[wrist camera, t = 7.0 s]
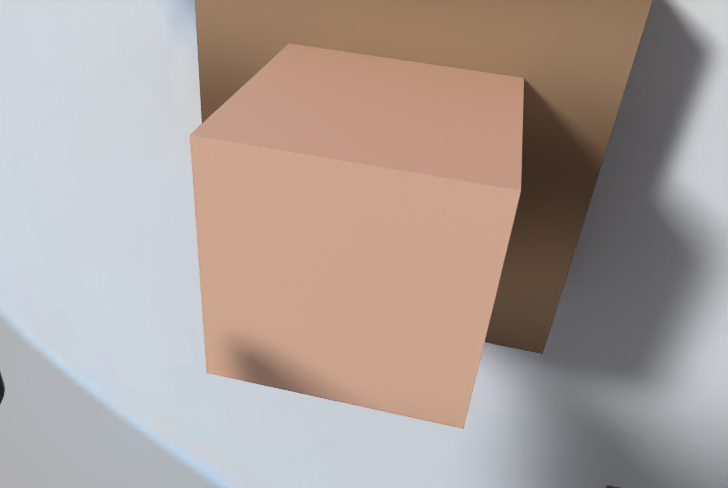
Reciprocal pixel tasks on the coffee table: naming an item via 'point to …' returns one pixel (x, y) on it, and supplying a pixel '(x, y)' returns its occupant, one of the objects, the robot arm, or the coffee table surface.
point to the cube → (357, 227)
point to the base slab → (485, 54)
